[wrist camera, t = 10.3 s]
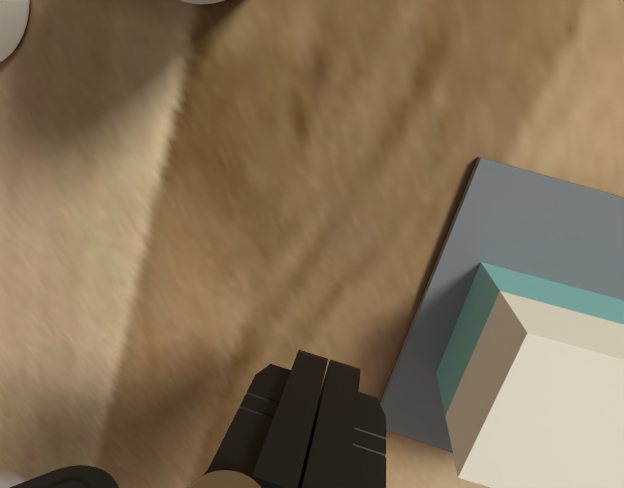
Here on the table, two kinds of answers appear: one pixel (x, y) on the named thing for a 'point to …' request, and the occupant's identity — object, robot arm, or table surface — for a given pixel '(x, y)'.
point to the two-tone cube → (535, 384)
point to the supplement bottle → (201, 1)
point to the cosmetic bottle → (12, 24)
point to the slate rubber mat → (506, 254)
